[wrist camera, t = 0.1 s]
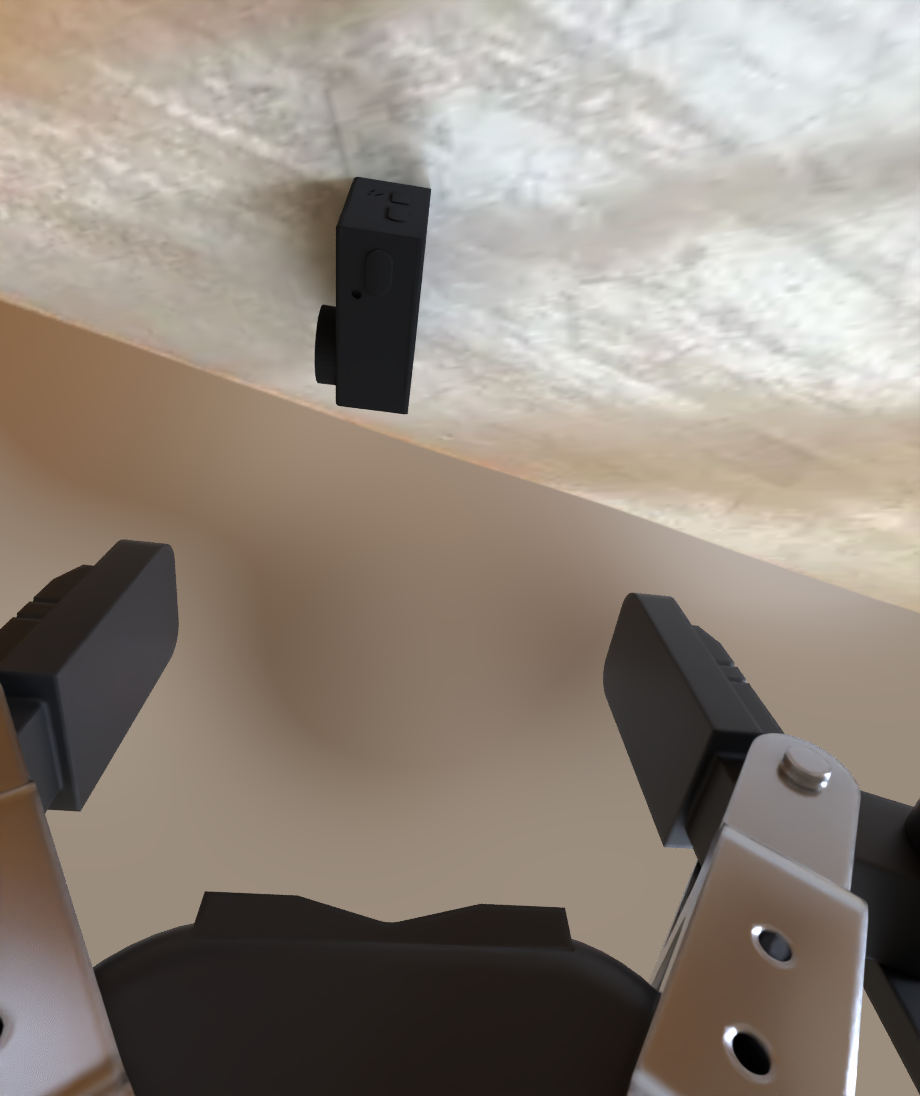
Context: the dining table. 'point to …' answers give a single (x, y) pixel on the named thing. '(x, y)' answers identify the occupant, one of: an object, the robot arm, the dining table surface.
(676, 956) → the robot arm
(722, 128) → the dining table surface
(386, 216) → the digital camera
